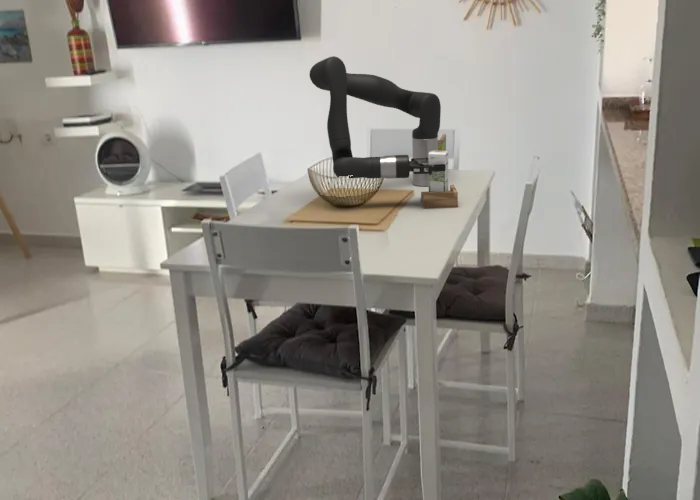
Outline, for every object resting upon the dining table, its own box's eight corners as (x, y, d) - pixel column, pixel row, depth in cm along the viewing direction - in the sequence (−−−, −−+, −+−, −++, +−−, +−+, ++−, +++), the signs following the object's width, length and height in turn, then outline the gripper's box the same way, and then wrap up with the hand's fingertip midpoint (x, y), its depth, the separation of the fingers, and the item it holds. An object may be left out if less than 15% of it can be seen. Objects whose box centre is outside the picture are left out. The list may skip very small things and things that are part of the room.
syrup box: (448, 193, 248) (448, 150, 244) (445, 197, 243) (445, 153, 238) (431, 192, 250) (431, 149, 245) (428, 196, 244) (427, 153, 240)
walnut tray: (421, 200, 253) (420, 185, 251) (453, 199, 252) (453, 184, 251) (423, 208, 242) (423, 193, 241) (457, 207, 242) (457, 192, 240)
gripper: (395, 159, 236) (446, 157, 235) (393, 151, 249) (441, 149, 249) (395, 182, 238) (446, 180, 238) (393, 173, 252) (441, 171, 251)
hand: (444, 164), depth 243 cm, fingers open, 8 cm apart
